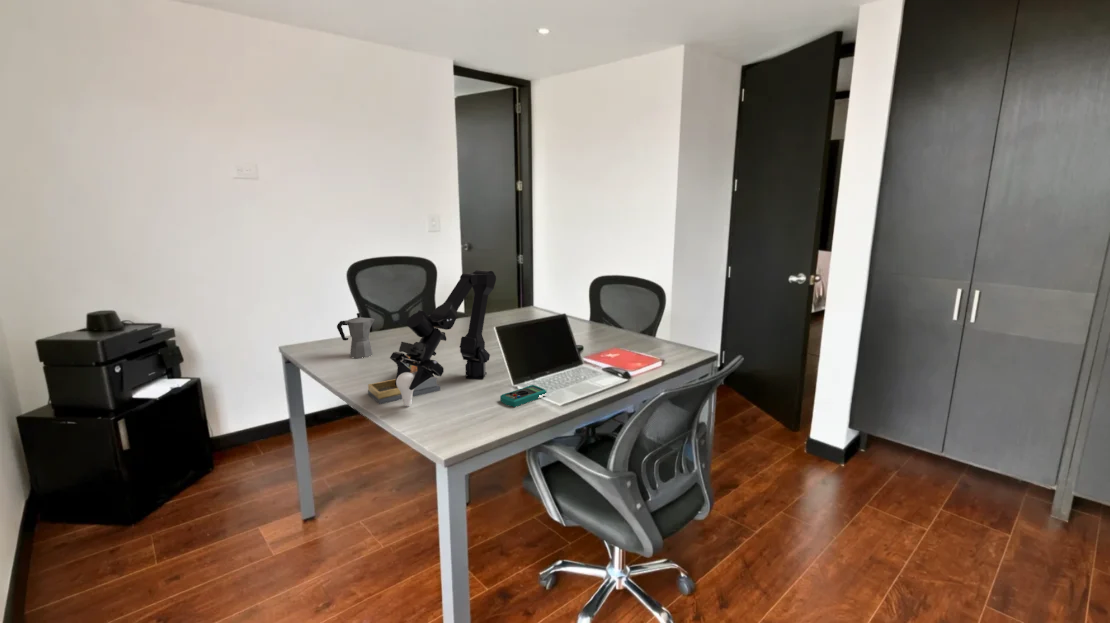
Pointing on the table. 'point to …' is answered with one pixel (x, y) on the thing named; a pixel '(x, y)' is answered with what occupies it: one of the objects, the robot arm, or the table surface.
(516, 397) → the digital multimeter
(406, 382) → the lightbulb
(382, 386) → the grey base with tray
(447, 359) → the table surface
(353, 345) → the coffeepot
